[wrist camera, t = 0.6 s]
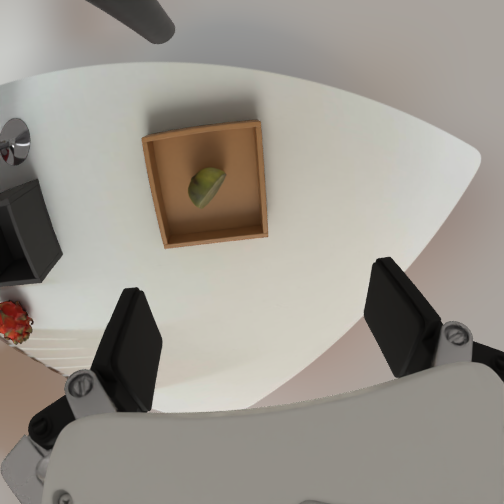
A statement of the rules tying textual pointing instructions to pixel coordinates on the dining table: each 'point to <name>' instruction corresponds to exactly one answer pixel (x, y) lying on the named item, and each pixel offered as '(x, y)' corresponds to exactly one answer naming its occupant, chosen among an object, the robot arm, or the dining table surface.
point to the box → (229, 194)
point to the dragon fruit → (14, 322)
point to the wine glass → (14, 142)
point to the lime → (205, 186)
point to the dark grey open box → (26, 236)
